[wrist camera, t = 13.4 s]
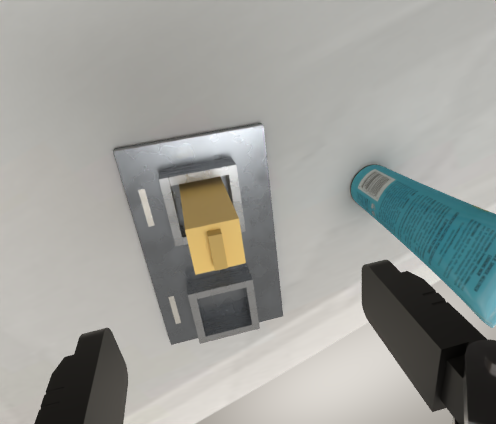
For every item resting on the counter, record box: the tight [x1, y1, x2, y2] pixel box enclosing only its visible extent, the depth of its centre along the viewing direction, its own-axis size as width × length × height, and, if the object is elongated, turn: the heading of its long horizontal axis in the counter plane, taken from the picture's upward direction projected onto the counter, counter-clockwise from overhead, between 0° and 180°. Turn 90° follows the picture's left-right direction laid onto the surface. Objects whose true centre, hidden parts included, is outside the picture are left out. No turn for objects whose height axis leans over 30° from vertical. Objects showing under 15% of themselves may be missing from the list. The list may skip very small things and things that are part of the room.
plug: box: [179, 176, 246, 275], centre depth 31 cm, size 4×4×11 cm
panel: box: [113, 123, 283, 345], centre depth 38 cm, size 14×24×4 cm, turn 7°
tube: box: [351, 165, 496, 328], centre depth 32 cm, size 7×5×19 cm, turn 169°
